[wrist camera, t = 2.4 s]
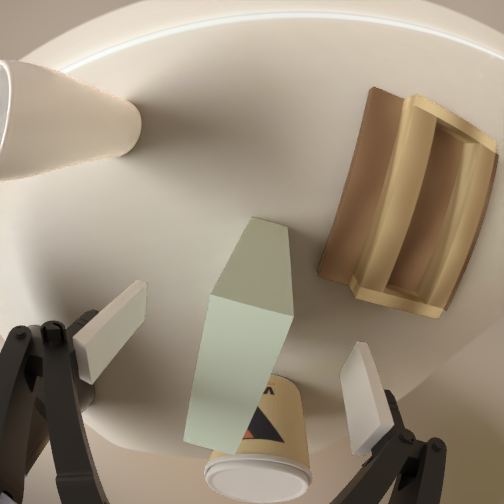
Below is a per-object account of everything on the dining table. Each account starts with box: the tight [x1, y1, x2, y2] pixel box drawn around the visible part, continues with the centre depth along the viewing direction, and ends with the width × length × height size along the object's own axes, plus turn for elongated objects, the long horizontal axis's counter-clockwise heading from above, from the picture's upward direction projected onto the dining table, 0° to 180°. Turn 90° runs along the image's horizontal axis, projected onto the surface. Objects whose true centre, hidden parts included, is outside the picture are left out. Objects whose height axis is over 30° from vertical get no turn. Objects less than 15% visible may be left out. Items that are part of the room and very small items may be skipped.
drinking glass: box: [0, 59, 142, 183], centre depth 15 cm, size 7×7×15 cm
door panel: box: [183, 217, 294, 455], centre depth 18 cm, size 3×10×14 cm, turn 166°
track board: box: [317, 87, 499, 319], centre depth 19 cm, size 14×16×4 cm
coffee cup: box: [204, 374, 312, 503], centre depth 23 cm, size 9×9×12 cm
